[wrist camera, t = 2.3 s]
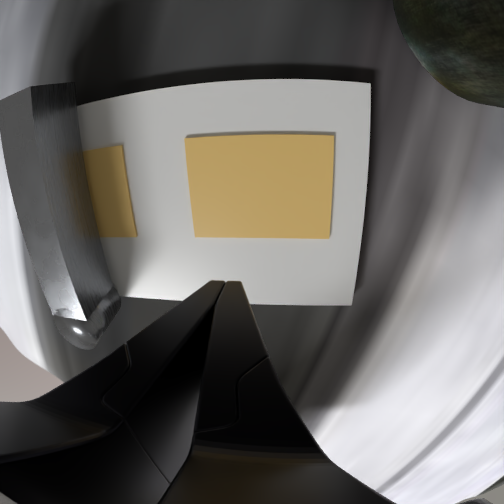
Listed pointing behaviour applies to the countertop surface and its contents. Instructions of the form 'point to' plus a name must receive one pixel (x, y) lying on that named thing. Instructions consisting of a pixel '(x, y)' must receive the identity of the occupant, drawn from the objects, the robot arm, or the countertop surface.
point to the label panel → (231, 187)
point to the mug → (458, 44)
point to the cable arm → (58, 209)
